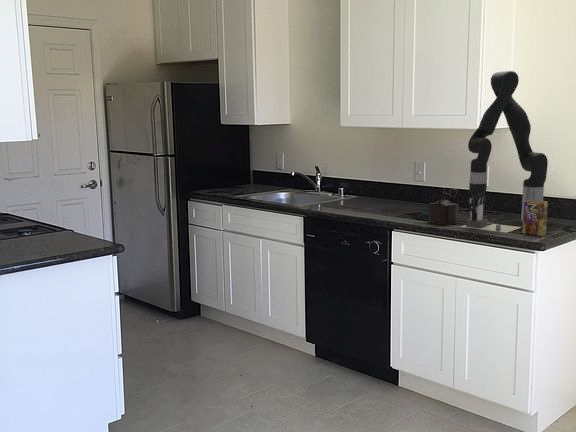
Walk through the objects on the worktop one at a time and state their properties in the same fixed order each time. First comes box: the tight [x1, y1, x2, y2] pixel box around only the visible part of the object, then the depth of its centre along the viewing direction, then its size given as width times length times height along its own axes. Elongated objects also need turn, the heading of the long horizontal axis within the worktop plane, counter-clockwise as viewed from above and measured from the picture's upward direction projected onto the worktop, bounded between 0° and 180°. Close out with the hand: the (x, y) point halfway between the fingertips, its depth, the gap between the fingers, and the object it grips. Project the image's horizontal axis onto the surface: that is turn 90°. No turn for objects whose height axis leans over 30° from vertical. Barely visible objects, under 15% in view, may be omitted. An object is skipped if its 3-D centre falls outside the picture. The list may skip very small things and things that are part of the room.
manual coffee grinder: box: [427, 187, 460, 226], centre depth 308 cm, size 16×11×18 cm
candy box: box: [522, 200, 549, 239], centre depth 277 cm, size 9×4×15 cm, turn 47°
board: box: [460, 218, 523, 234], centre depth 295 cm, size 16×22×4 cm
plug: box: [469, 204, 484, 221], centre depth 297 cm, size 4×5×8 cm
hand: (476, 219), depth 297 cm, fingers closed on plug, 4 cm apart
